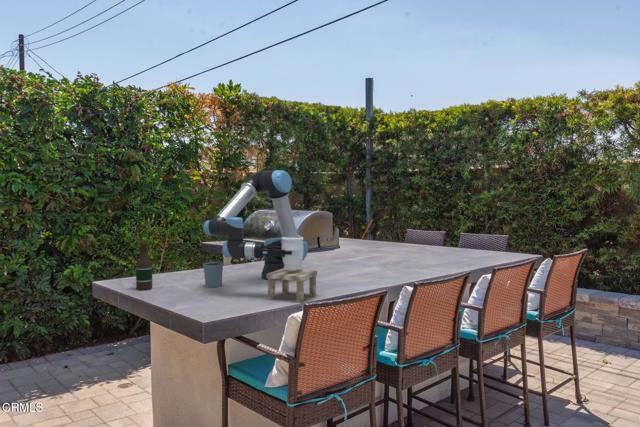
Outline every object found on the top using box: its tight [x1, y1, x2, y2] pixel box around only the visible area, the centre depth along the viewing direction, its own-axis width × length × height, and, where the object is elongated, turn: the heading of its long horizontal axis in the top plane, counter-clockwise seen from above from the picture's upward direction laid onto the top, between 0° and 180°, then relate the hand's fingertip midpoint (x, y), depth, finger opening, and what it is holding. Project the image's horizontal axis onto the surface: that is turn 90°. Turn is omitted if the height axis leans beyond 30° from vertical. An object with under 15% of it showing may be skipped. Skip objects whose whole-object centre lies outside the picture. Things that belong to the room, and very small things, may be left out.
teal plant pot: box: [202, 261, 224, 289], centre depth 256 cm, size 10×10×12 cm
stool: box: [267, 268, 318, 304], centre depth 230 cm, size 18×18×12 cm
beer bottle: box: [135, 241, 153, 291], centre depth 248 cm, size 8×8×24 cm
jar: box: [281, 236, 304, 270], centre depth 229 cm, size 11×10×15 cm
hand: (301, 251), depth 228 cm, fingers closed on jar, 10 cm apart
